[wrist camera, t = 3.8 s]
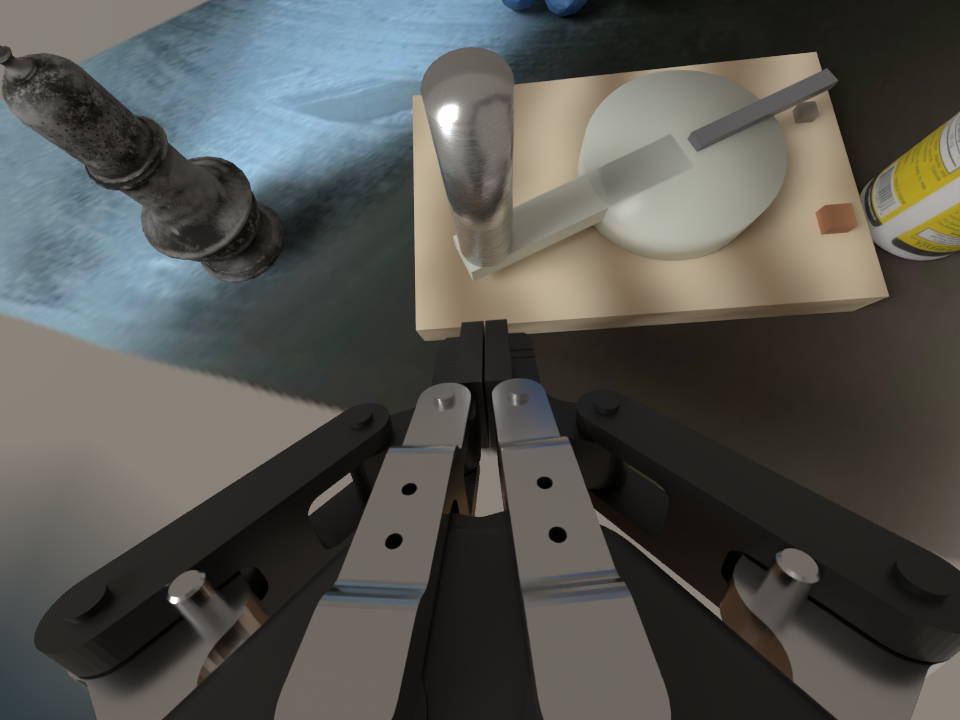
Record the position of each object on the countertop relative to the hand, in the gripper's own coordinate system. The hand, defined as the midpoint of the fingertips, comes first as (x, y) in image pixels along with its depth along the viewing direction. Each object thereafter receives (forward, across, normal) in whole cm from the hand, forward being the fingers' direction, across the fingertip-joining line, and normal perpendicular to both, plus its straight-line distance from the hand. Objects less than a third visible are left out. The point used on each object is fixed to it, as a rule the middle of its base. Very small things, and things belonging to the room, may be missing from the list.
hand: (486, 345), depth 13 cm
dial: (+10, -8, -2) cm, 13 cm away
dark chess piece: (+12, +15, -1) cm, 19 cm away
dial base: (+12, -7, -1) cm, 14 cm away
